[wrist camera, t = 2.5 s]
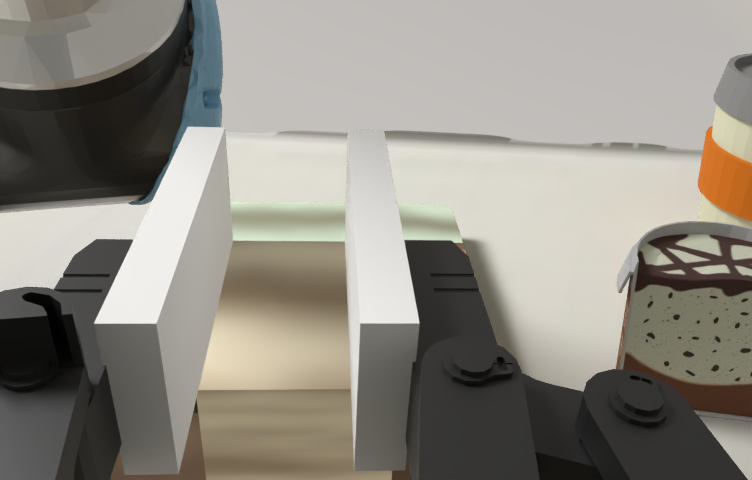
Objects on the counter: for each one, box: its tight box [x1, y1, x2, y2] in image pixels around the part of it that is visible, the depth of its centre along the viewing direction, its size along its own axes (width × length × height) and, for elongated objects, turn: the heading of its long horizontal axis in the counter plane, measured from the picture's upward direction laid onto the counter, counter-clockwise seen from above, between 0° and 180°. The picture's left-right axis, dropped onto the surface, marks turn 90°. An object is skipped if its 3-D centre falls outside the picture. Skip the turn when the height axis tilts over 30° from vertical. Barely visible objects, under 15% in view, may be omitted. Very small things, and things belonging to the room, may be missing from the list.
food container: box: [616, 221, 752, 422], centre depth 41 cm, size 12×6×10 cm, turn 82°
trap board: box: [111, 202, 467, 480], centre depth 42 cm, size 32×22×3 cm
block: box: [197, 241, 392, 480], centre depth 30 cm, size 10×7×9 cm
